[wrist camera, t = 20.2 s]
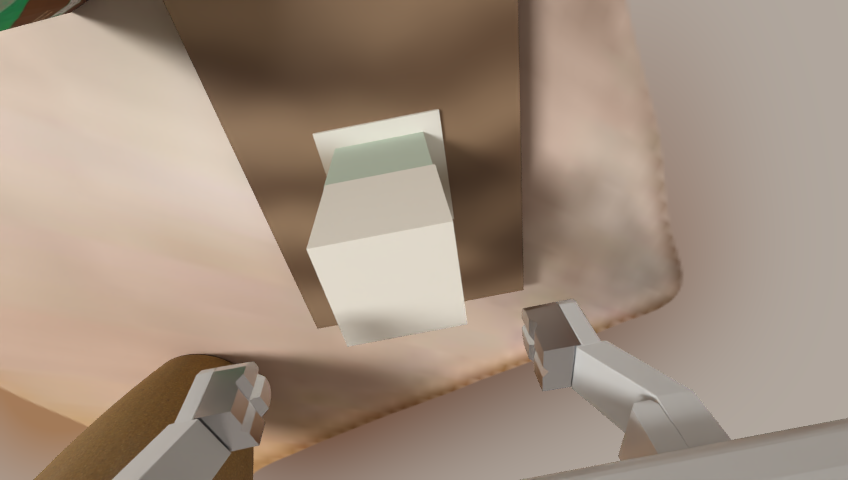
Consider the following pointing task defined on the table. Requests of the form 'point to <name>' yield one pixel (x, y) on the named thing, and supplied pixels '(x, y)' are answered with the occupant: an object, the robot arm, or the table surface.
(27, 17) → the food container
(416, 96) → the board
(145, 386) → the plant pot
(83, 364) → the table surface
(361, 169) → the sage green block
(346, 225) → the cream block
